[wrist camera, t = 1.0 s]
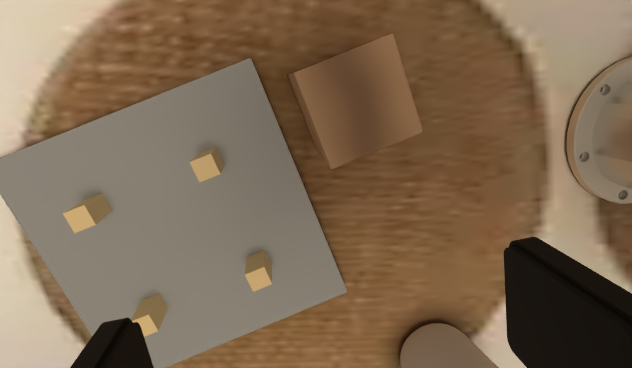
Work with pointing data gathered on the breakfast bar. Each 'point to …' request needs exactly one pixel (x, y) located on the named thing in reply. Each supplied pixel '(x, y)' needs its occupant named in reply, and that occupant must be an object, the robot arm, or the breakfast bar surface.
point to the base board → (176, 216)
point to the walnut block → (357, 101)
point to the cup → (441, 349)
